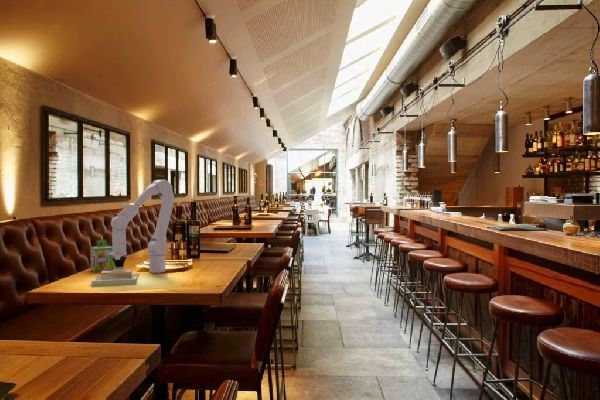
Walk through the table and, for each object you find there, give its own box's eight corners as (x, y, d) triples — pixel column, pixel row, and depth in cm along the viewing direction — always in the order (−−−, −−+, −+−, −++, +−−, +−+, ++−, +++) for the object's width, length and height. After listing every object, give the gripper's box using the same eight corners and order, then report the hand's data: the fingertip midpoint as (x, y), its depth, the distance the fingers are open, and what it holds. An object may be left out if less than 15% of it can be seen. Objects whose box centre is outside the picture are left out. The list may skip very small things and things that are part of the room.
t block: (105, 276, 209) (104, 267, 209) (133, 275, 212) (133, 266, 212) (100, 282, 198) (100, 272, 197) (131, 280, 201) (130, 271, 200)
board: (97, 277, 212) (97, 275, 212) (140, 275, 216) (140, 273, 216) (89, 288, 190) (89, 286, 190) (136, 286, 195) (136, 283, 195)
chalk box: (96, 273, 222) (95, 242, 222) (89, 270, 229) (89, 240, 229) (115, 270, 228) (115, 240, 228) (109, 268, 235) (108, 238, 235)
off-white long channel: (93, 283, 195) (93, 278, 195) (137, 281, 200) (136, 276, 200) (91, 286, 191) (91, 281, 190) (136, 283, 195) (135, 278, 195)
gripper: (111, 241, 217) (112, 270, 218) (107, 245, 203) (107, 276, 204) (128, 240, 219) (128, 269, 220) (124, 245, 205) (125, 276, 206)
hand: (119, 273), depth 212 cm, fingers closed
